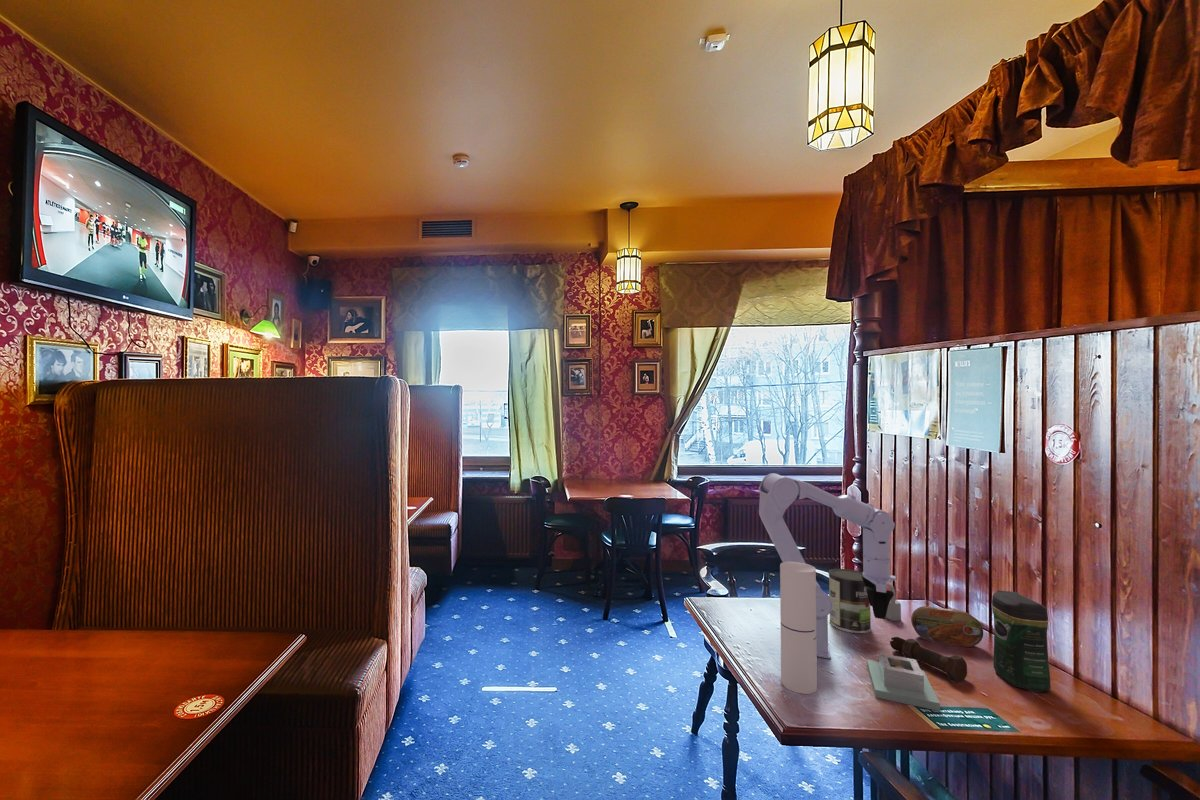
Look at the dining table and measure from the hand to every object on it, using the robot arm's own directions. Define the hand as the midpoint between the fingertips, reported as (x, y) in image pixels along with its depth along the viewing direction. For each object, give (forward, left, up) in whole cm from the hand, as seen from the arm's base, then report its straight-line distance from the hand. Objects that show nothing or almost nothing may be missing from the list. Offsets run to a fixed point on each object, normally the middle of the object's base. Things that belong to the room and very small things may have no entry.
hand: (877, 612), depth 113 cm
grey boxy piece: (+2, -16, -8) cm, 18 cm away
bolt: (+9, -3, -10) cm, 14 cm away
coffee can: (-5, +13, -10) cm, 17 cm away
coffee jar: (+27, -2, -10) cm, 29 cm away
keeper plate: (+2, -16, -9) cm, 19 cm away
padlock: (+6, +25, -10) cm, 27 cm away
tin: (+17, +13, -10) cm, 23 cm away
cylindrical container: (-18, -24, -10) cm, 31 cm away
